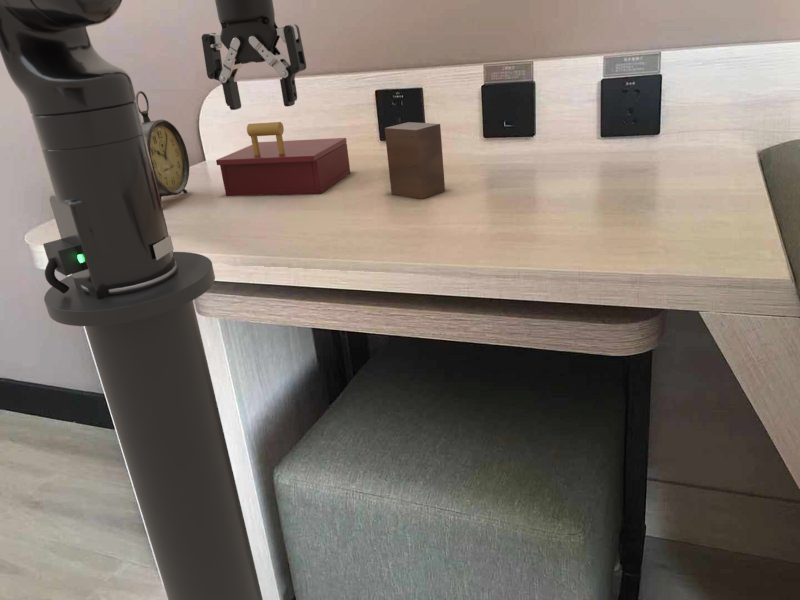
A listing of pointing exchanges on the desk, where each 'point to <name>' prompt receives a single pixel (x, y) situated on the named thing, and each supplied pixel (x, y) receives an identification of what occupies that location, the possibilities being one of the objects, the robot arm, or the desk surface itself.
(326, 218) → the desk surface
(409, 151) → the bookend
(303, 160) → the box lid
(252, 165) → the box base
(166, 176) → the alarm clock
